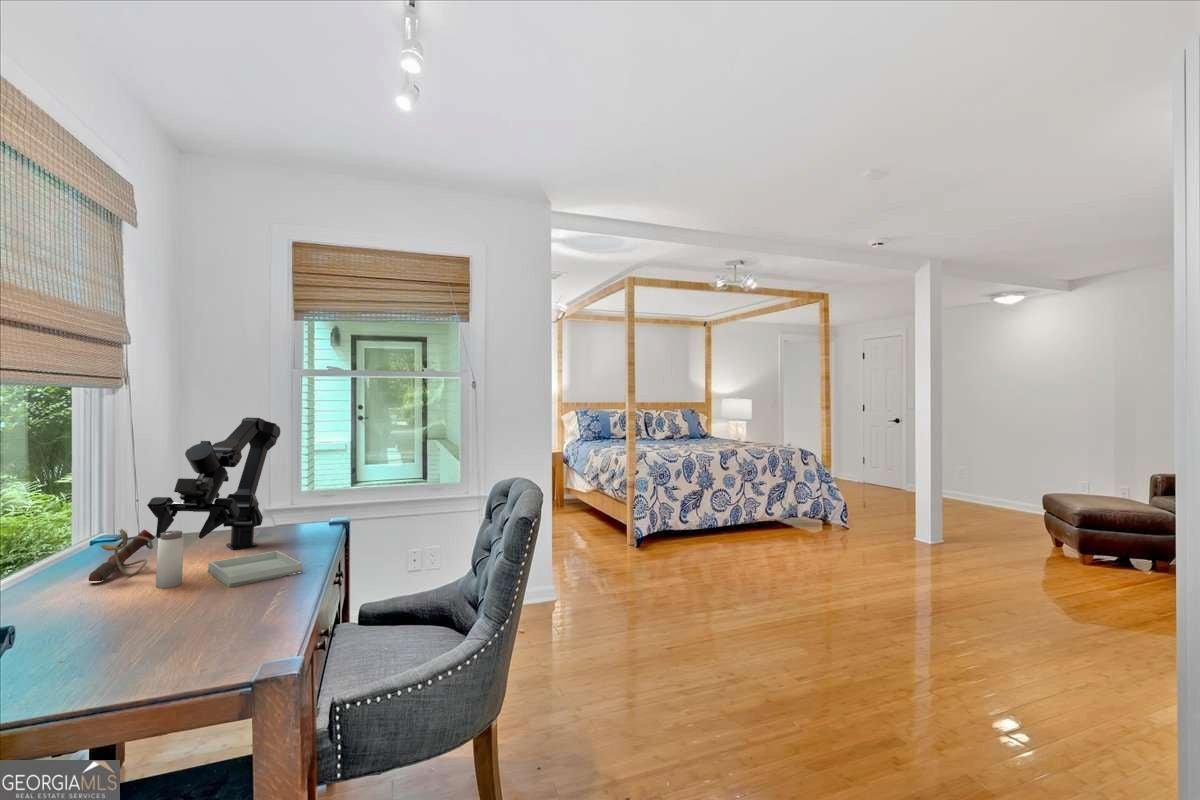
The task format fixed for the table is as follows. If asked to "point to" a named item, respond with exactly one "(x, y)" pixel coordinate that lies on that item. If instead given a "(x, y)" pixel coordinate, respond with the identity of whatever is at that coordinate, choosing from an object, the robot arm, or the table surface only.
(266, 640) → the table surface
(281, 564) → the bin
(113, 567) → the slingshot
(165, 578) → the jar with lid
